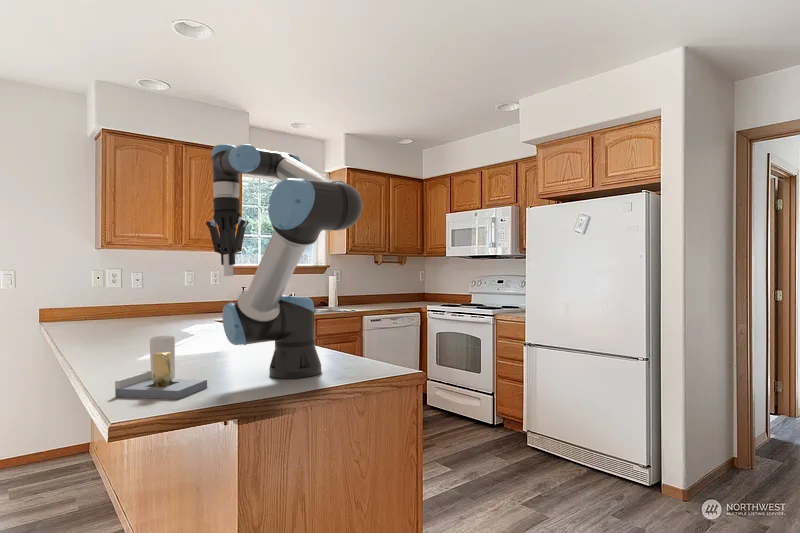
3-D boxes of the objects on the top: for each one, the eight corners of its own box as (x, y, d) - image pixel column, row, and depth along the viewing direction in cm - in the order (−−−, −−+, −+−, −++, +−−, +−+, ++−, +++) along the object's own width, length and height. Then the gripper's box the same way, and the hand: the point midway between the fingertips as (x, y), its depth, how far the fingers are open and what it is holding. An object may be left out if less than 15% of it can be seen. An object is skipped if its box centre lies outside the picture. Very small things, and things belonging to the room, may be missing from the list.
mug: (170, 379, 147) (169, 338, 147) (146, 380, 146) (145, 339, 146) (182, 372, 157) (181, 333, 157) (160, 373, 156) (159, 334, 156)
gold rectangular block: (175, 390, 134) (174, 352, 134) (164, 394, 130) (163, 355, 130) (161, 389, 135) (160, 351, 135) (149, 393, 131) (148, 354, 131)
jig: (207, 387, 136) (206, 372, 136) (178, 399, 125) (178, 382, 125) (148, 385, 140) (148, 371, 140) (115, 396, 128) (115, 380, 128)
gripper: (252, 198, 156) (254, 275, 156) (214, 200, 159) (216, 276, 159) (239, 195, 148) (241, 276, 149) (199, 197, 151) (201, 276, 151)
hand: (228, 276), depth 154 cm, fingers closed
